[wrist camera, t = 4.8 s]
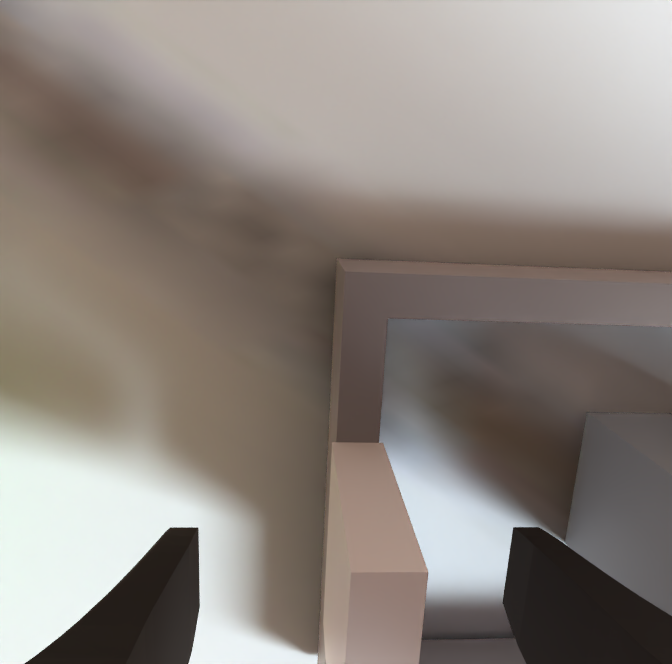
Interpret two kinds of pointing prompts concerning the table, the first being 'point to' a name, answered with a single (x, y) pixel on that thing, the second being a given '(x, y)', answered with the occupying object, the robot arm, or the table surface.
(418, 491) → the table surface
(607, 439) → the grey block
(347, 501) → the grey square tray
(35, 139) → the table surface
